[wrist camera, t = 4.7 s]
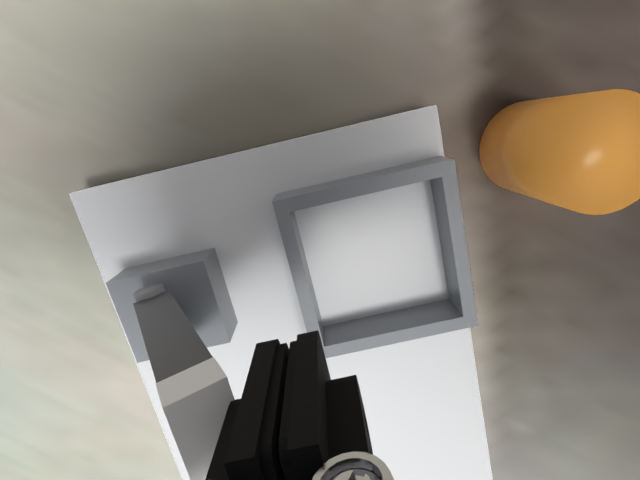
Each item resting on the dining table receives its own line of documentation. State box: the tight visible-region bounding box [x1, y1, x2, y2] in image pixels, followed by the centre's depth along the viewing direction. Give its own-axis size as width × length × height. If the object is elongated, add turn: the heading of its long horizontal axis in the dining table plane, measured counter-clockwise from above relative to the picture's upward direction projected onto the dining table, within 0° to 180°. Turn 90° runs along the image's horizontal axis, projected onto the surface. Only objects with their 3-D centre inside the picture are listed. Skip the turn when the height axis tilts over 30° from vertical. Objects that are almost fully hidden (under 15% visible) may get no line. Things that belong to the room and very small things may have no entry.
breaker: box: [133, 283, 235, 480], centre depth 13 cm, size 1×3×10 cm, turn 14°
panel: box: [68, 105, 493, 480], centre depth 21 cm, size 17×22×4 cm
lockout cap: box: [479, 89, 640, 215], centre depth 17 cm, size 4×4×6 cm
